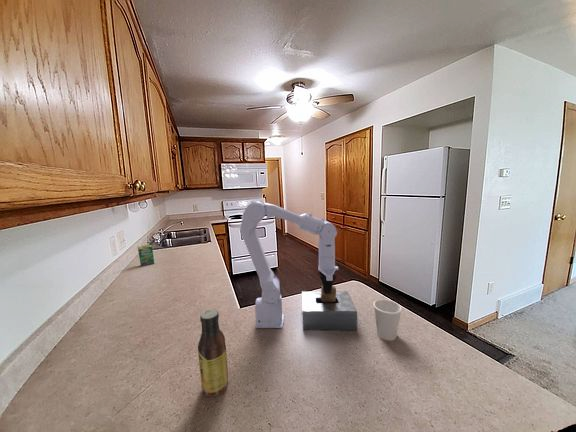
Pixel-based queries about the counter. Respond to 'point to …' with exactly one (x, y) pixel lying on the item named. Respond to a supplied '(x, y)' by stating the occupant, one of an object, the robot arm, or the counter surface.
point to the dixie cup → (387, 318)
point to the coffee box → (146, 255)
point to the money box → (328, 312)
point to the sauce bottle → (212, 355)
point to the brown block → (328, 295)
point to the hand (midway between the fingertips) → (326, 291)
